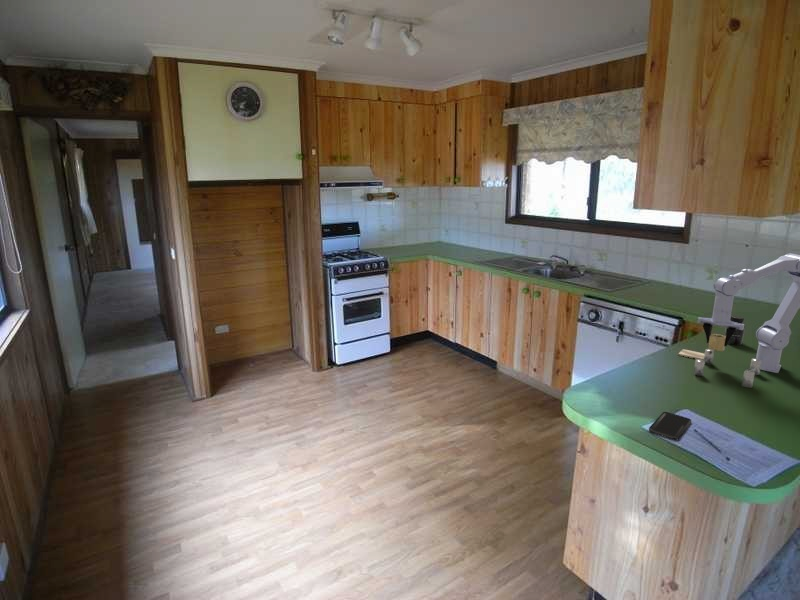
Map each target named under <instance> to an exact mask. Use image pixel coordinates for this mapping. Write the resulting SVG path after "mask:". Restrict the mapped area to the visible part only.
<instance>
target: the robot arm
mask: <svg viewBox="0 0 800 600" xmlns="http://www.w3.org/2000/svg"><path fill="white" fill-rule="evenodd" d="M782 271H784V272H786V273H788V274H789V275H790V277H791V279H792V283H791V285H790V286H789V289H788V290H787V291H786V294H785V295H784V296H783V298H782V300H781V302H780V304H779V306H778V307H777V309H776V311H775V312H774V315H773V317H772V318H771V319H769V320H766V321H764V322H763V324H762V325H761V326H759V328H757V330H756V332H755V337H756V339H757V340H758V342H757V343H758V345H757V351H756V357H755V358H757V359H760V360H762V362H761V367H760V371H766V372H770V373H775V374H779V372H780V370H781V367H782V365H781V364H780V362H781V357H782V353H783V350H784V348H786V347H787V346H788V345H789V342H790V337H791V335H792V330H791V327H790V325H791V322H792V321H793V319H794V318H795V317H796V314H797V313H798V311H799V309H800V254H797V253H794V252H792V253H786V254H785V255H781V256H779V257H778V258H777V259H775V260H773V261H771V262H768V263H767V264H765V265H762V266H760V267H758V268H755V269H754V270H753V269H751V268H747V269H746V268H744V269H741V272H737V273H735V274H730V275H728V276H727V277H720V278H718V279H717V280H716V281H715V283H713V286H712V287H713V289H714V291H715V292H714V293H715V296H714V302H713V310H712V316H711V317H701V316H698V317H697V324H703V325H702V328H703V330H704V333H705V337H706V344H709V338H710V335H711V334H712V330H713V326H718V327H722V328H723V327H724V328H726V327H728V329H727V332H726V340H725V344H724V346H725V347H727V346H728V345H729V344H728V342H729V339H730V338H731V336H732V334H733V333H734V332H735V331H736V329H739V330H743V329H744V325H745V324H744V323H743V324H740V323H736V322H732V321H730V318H731V316H732V311H733V306H734V305H733V303H734V297H735V295H737V294H738V293H739V291H740V290H742V289H744V288H747V287H750V286H752V285H755V284H757V283H758V281H759V279H762V278H764V277H767V276H770V275H773V274H776V273H779V272H782Z"/></svg>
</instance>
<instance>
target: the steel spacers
mask: <svg viewBox="0 0 800 600" xmlns="http://www.w3.org/2000/svg"><path fill="white" fill-rule="evenodd" d="M714 354H715V350H712V349H709V348H705V349H704V360H700V359H694V360H695V362H694V368H693V372H692V373H693V375H694V376H696V375H697V376H696V377H703V376H704V370H705V365H709V366H711V365H713V360H714V356H715V355H714ZM761 362H762V360H760V359H757V358H756V357H752V358H751V359H750V364H749V365H750V367H749V369H745V370H744V371H743V376H742V381H741V386H742V387H744V388H748V389H752V388H753V384H754V379H755V376H759V375H760V372H761V370H760V367H761Z"/></svg>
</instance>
